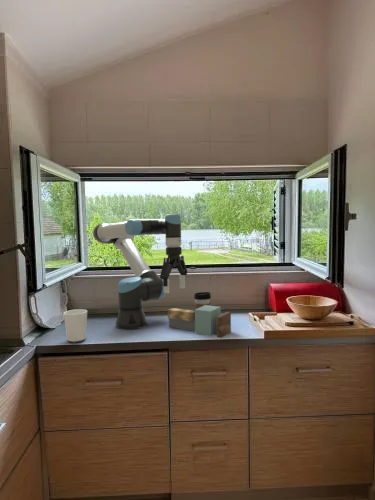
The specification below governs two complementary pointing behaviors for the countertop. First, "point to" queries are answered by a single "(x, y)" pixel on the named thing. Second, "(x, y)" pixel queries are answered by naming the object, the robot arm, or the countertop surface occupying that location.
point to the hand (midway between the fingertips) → (174, 290)
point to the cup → (75, 325)
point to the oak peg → (181, 314)
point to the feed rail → (182, 324)
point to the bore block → (206, 320)
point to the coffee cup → (202, 299)
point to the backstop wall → (223, 324)
